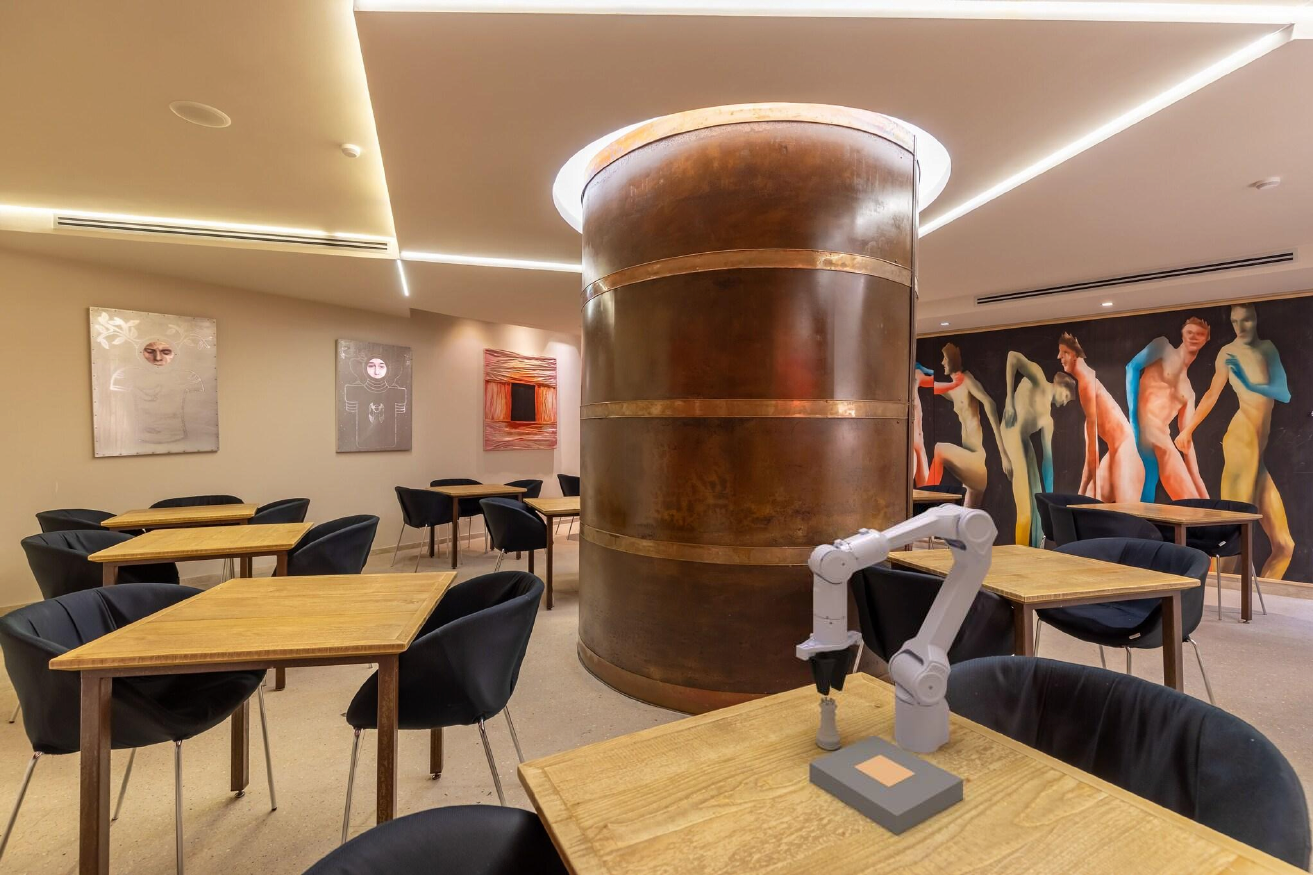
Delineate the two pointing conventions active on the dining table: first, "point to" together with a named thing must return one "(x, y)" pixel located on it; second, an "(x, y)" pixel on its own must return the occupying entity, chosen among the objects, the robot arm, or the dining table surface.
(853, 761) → the grey flat square slab
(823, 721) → the rook chess piece
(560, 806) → the dining table surface
